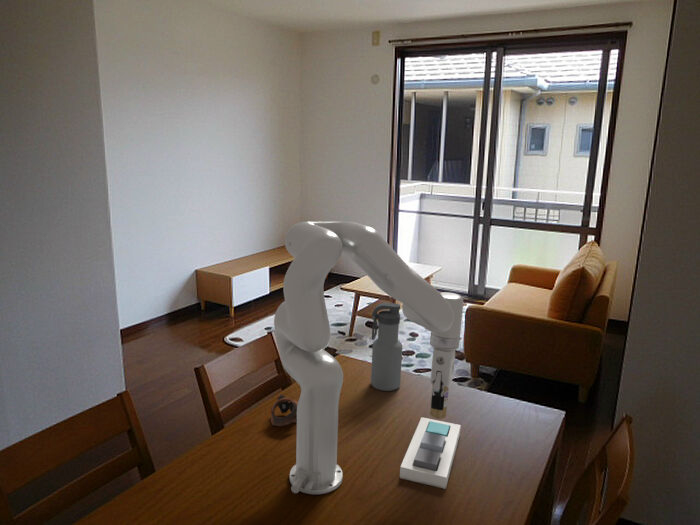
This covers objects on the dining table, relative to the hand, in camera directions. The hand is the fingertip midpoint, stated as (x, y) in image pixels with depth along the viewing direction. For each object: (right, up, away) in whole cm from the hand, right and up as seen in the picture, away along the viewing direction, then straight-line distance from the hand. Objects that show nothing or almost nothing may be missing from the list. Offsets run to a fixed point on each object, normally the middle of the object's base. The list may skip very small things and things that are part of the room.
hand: (438, 403), depth 138 cm
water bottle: (-12, -3, +34) cm, 36 cm away
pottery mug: (-42, -8, +9) cm, 43 cm away
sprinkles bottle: (0, -4, +1) cm, 4 cm away
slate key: (-2, -10, -5) cm, 11 cm away
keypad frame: (-3, -12, -5) cm, 13 cm away
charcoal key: (-5, -11, -13) cm, 18 cm away
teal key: (0, -9, +2) cm, 10 cm away
